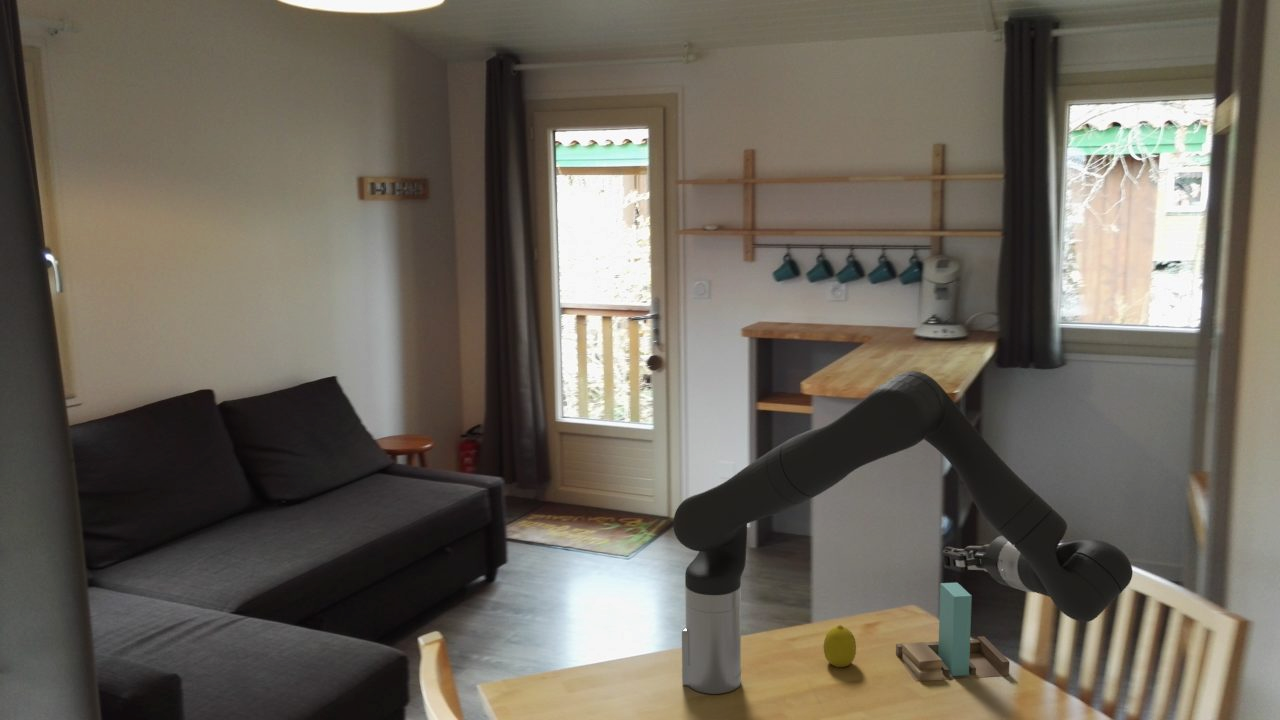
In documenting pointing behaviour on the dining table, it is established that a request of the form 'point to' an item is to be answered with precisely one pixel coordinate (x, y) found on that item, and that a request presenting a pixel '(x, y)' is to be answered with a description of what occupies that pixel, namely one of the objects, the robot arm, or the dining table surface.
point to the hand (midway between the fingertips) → (971, 550)
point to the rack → (971, 660)
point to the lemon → (839, 646)
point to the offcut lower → (923, 671)
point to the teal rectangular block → (954, 628)
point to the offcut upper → (922, 655)
